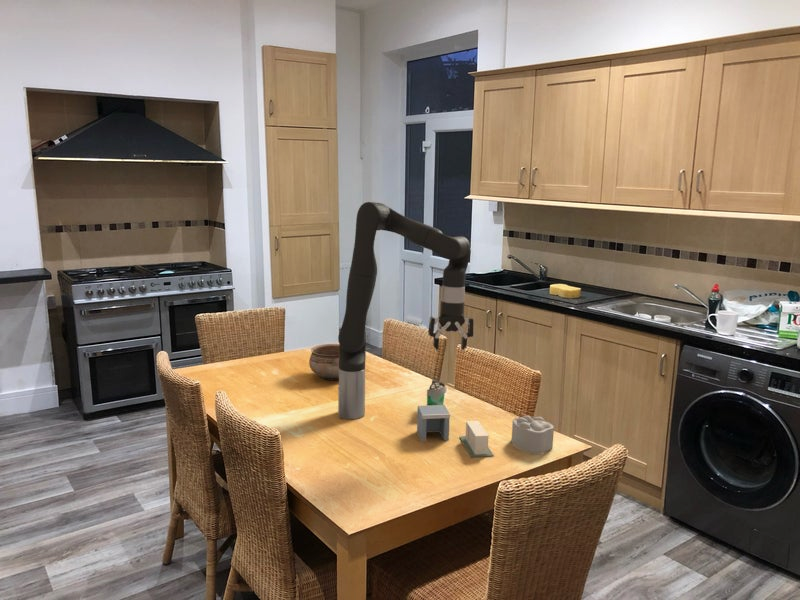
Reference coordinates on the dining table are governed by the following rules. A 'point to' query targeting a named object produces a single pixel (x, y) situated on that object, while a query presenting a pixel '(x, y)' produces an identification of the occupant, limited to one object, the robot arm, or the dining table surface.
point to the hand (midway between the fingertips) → (449, 349)
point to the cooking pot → (325, 361)
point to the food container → (436, 393)
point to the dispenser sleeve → (433, 420)
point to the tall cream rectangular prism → (477, 437)
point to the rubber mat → (470, 451)
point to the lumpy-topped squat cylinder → (532, 434)
